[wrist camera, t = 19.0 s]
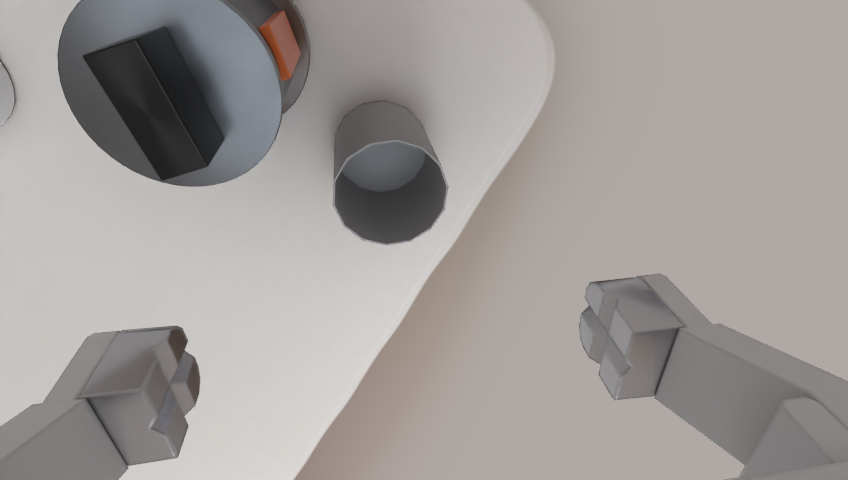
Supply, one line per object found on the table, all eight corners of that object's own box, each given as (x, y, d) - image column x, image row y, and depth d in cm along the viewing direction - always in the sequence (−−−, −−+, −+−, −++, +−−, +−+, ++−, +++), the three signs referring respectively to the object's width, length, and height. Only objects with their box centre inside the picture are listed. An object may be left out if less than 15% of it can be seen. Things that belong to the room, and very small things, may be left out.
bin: (263, -53, 32) (203, -58, 18) (321, 97, 38) (310, 182, 24) (116, -5, 32) (-59, 27, 18) (195, 137, 38) (110, 245, 24)
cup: (363, 82, 39) (370, 117, 31) (443, 130, 43) (469, 173, 34) (317, 165, 42) (312, 217, 34) (395, 203, 46) (408, 260, 37)
